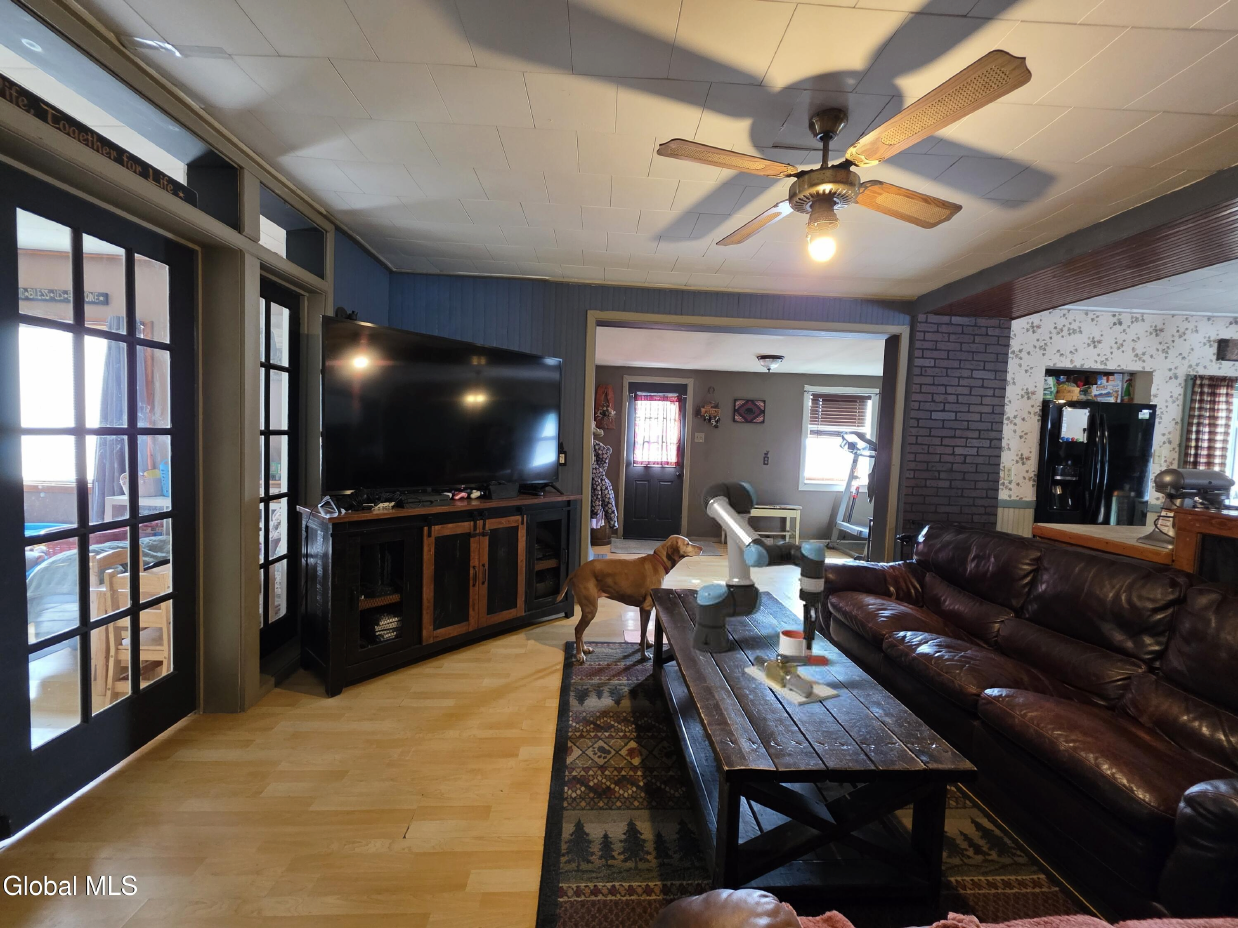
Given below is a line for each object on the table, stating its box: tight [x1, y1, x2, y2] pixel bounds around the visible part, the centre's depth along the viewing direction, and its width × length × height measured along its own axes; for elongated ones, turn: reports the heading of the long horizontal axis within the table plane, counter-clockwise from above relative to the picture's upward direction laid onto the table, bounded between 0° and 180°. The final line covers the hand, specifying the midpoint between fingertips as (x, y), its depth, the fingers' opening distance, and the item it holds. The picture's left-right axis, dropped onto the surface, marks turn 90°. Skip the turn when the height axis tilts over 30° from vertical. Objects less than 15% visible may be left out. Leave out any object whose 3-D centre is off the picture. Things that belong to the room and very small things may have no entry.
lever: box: [775, 653, 829, 666], centre depth 177 cm, size 16×4×2 cm, turn 89°
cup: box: [778, 629, 806, 666], centre depth 197 cm, size 10×10×10 cm
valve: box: [752, 654, 813, 698], centre depth 177 cm, size 24×7×7 cm, turn 25°
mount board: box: [744, 665, 839, 706], centre depth 179 cm, size 26×17×1 cm, turn 25°
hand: (807, 657), depth 179 cm, fingers closed
